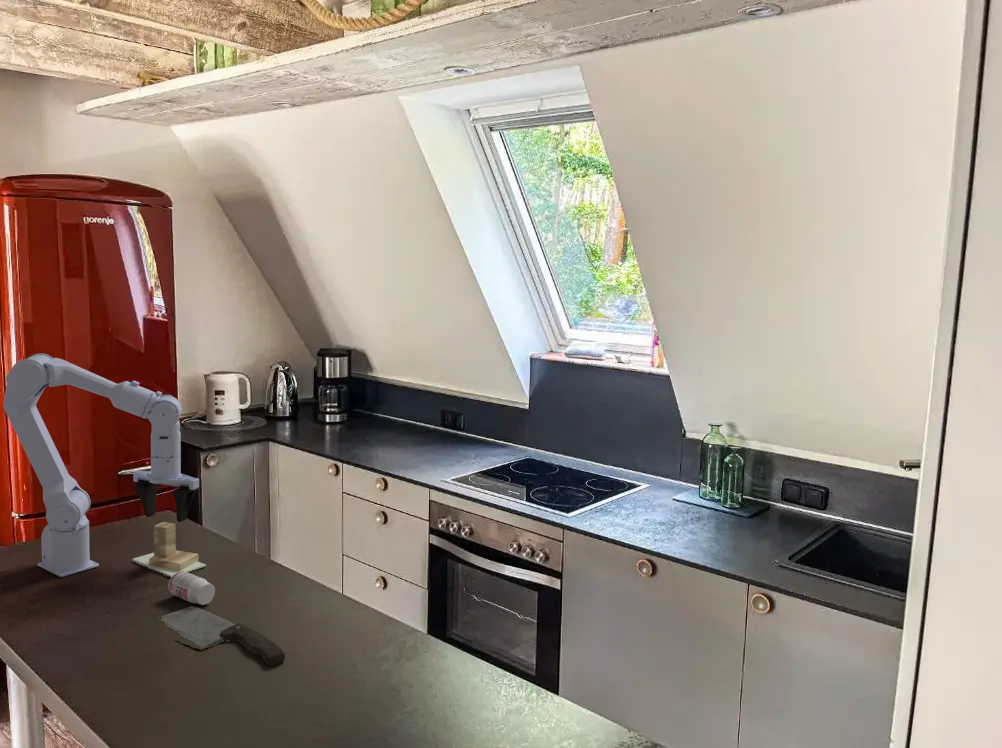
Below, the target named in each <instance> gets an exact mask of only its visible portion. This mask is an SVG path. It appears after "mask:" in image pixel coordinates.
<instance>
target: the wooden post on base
mask: <svg viewBox="0 0 1002 748" xmlns="http://www.w3.org/2000/svg"><path fill="white" fill-rule="evenodd" d="M176 530H177V529H176V523H173V522H167V521H163V522H160V523H158V524H155V525H153V553H154V556H153V557H151V558H149V565H150V566H156V567H161V568H167V569H173V570H179V571H181V570H183V569H185V568H186V567H188V566H190V565H192V564H194V563H195V562H197V561H198V562H200V560H199V559H200V558H199V555H200V554H199V553H193V552H188V551H182V550H177V548H176V547H177V546H176V544H177V543H176Z"/></svg>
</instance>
